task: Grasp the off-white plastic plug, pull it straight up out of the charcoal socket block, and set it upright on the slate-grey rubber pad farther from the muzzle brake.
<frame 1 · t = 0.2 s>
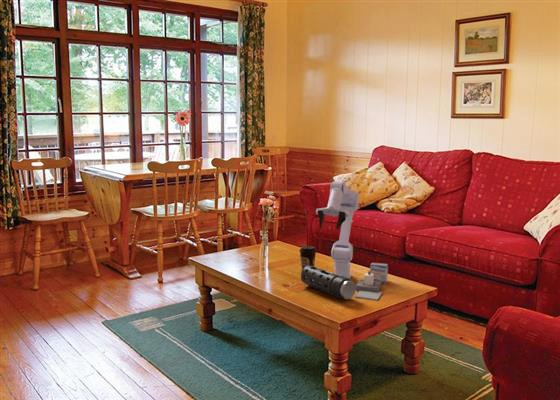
hand: (328, 227, 238), 31 cm above the table, tool tilted 45°, fingers open, 7 cm apart
rubber pad: (368, 295, 244), on the table
socket block: (368, 288, 253), on the table
coffee cup: (307, 272, 280), on the table
medicine box: (378, 281, 265), on the table
plug: (369, 280, 253), in the socket block
muzzle brake: (327, 294, 247), on the table
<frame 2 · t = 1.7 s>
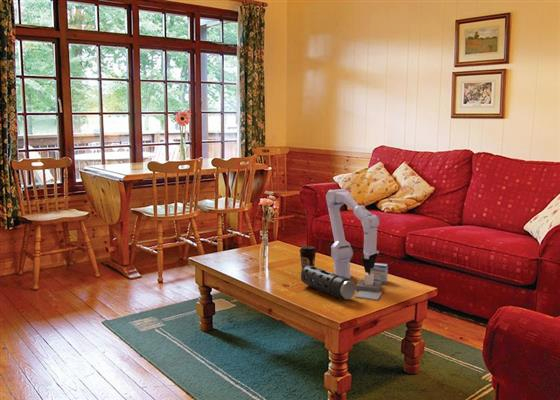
hand: (369, 270, 252), 9 cm above the table, tool pointing down, fingers open, 7 cm apart
nothing on the table moved.
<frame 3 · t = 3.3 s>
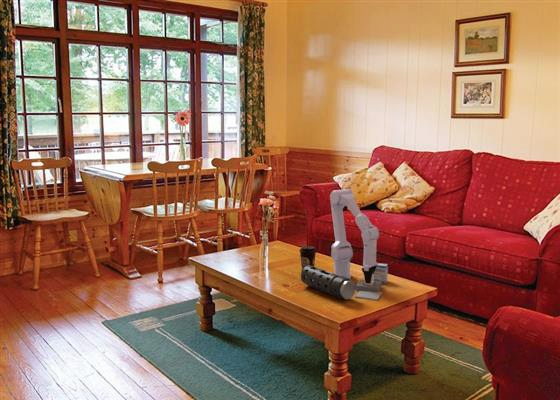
hand: (369, 281, 253), 3 cm above the table, tool pointing down, fingers closed on plug, 4 cm apart
plug: (369, 280, 253), in the socket block, touching gripper
everything else where it was.
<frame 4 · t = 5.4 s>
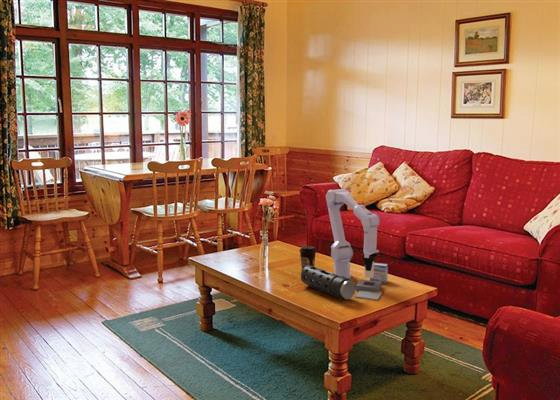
hand: (369, 269, 252), 9 cm above the table, tool pointing down, fingers closed on plug, 4 cm apart
plug: (369, 267, 252), point 10 cm above the table, touching gripper
everything else where it was.
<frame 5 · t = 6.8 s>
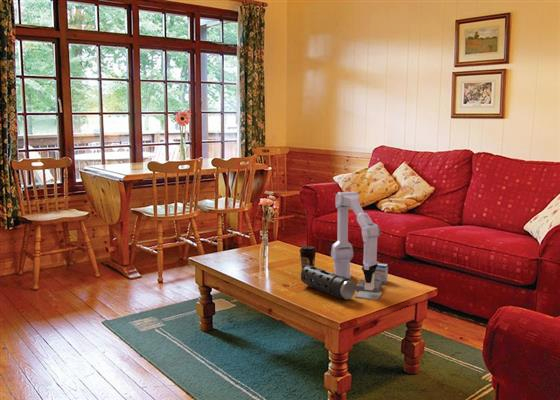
hand: (369, 281, 243), 7 cm above the table, tool pointing down, fingers closed on plug, 4 cm apart
plug: (369, 279, 243), point 7 cm above the table, touching gripper
everything else where it was.
when the fingers open (5 cm above the table, at t = 7.8 s): plug stays where it is, resting on rubber pad.
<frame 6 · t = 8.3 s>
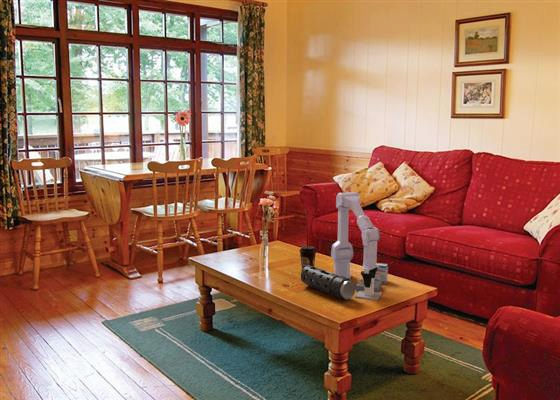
hand: (369, 284, 243), 5 cm above the table, tool pointing down, fingers open, 7 cm apart
plug: (369, 285, 243), on the rubber pad, point 5 cm above the table
everything else where it was.
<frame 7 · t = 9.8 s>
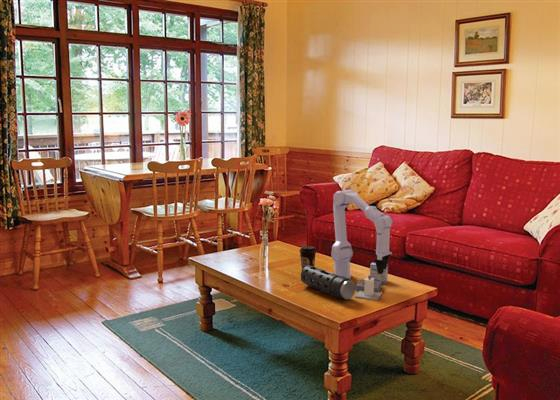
hand: (381, 271, 249), 9 cm above the table, tool pointing down, fingers open, 7 cm apart
nothing on the table moved.
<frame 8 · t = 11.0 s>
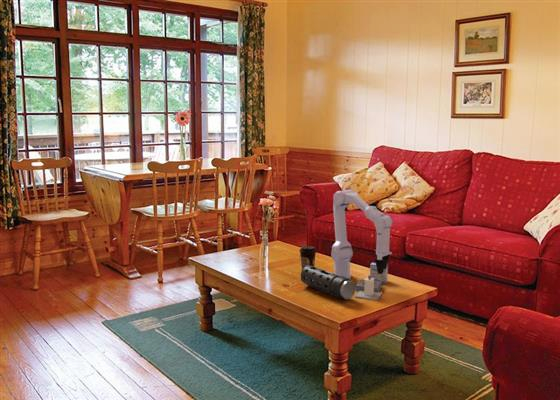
hand: (381, 271, 249), 9 cm above the table, tool pointing down, fingers open, 7 cm apart
nothing on the table moved.
at the end: plug inside the target area on the rubber pad (0.0 cm from its centre), point 4.8 cm above the rubber pad's base; plug tilted 0°; the gripper is holding nothing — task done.
